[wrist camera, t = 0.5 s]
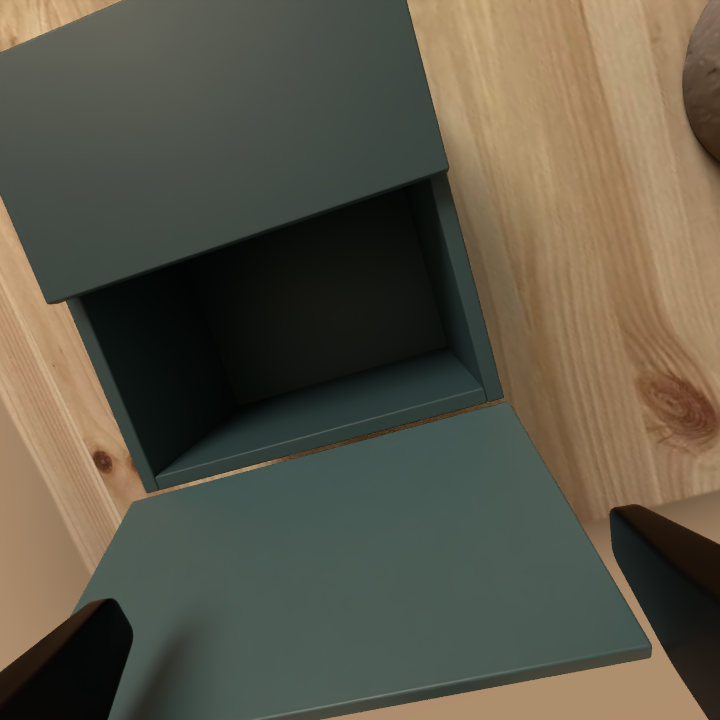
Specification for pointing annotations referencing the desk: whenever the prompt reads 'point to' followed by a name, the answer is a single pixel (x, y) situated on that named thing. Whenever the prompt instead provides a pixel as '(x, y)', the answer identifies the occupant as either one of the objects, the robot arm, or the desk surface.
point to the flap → (361, 580)
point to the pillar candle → (704, 79)
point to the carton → (245, 224)
